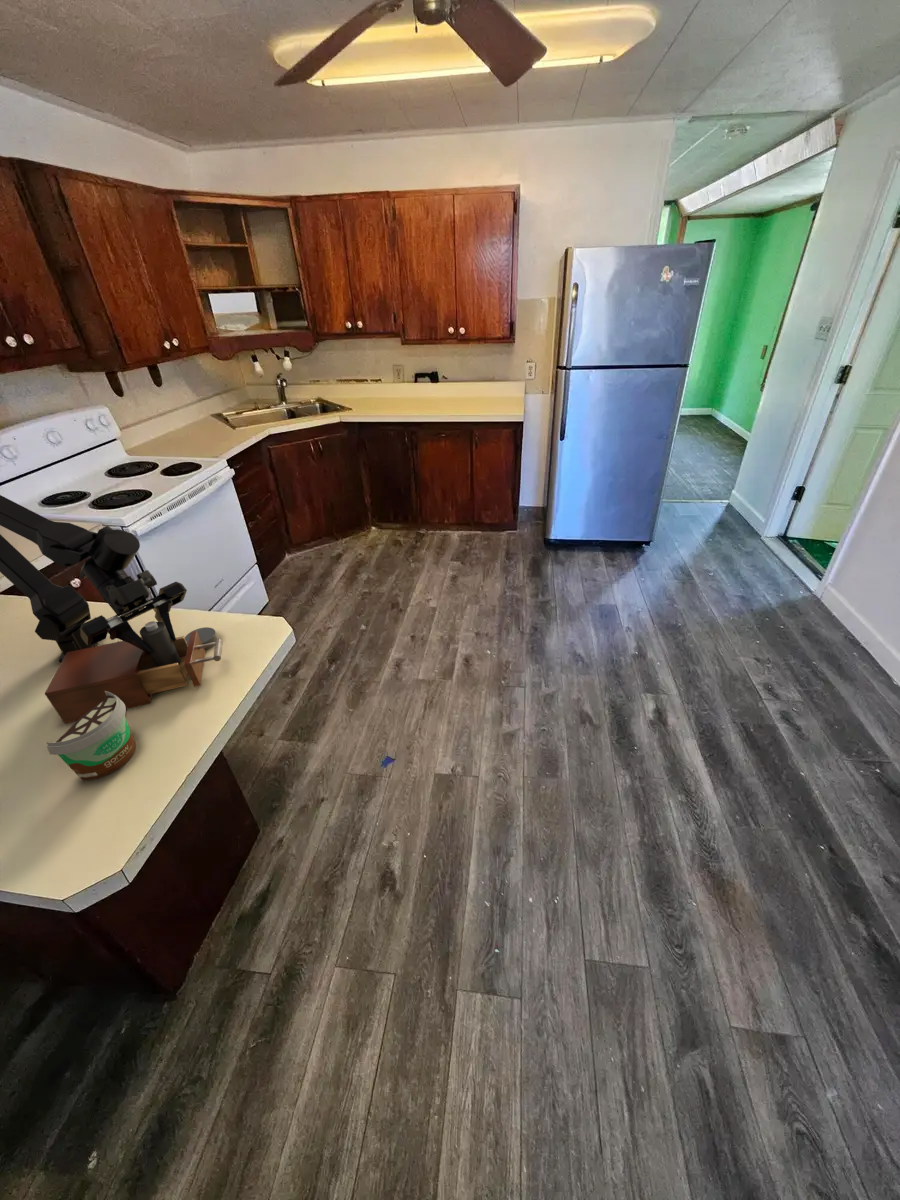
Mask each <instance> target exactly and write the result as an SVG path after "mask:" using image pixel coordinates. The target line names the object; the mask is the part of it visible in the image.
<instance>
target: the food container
mask: <svg viewBox="0 0 900 1200" xmlns="http://www.w3.org/2000/svg"><path fill="white" fill-rule="evenodd" d="M105 694H106V697H105V698H104V699H103V700H102V701H101V702H100V703H98V704H97V705H96V706H95V707H94V708H92V709H91V710H90V711H88V712H87V713H85V714H84V715H82V716H81V717H80V718H79V719H78V720H77V721H74V723H73V724H72V725H71V727H69V729H68V730H67V731H66V732H64V734H62V735H61V736H60V737H59V738H57V740H56V741H54V742H53V741H52V742H49V741H46V744H47V746H46V748H47V751H48V753H49V755H51V756H53V755H54V756H57V757H59V758H60V759H61V760H62V761H63V762H64V763H65V764H66V765H67V766H68V767H69V768H70V769H71V771H73V772H74V773H75V774H76V775H77V776H78V778H80V779H81V780H83V781H84V780H85V781H92V780H97V779H101V778H104V777H107V776H109V775H112V774H113V773H114V772H116V771H118V770H120V769H121V768H122V767H124V766H125V765H126V764H128V762H129V761H130V760H131V759H132V757H133V756H134V754H135V752H136V749H137V743H136V741H135V738H134V736H133V733H132V730H131V728H130V726H129V724H128V721H127V719H126V716H125V715H126V711H127V709H126V707H125V704H124V703H123V702H122V701H121V700H120V699H119V698H118V697H117V696H116V695H114V694H112V693H110V692H107V691H105Z"/></svg>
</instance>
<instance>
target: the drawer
mask: <svg viewBox="0 0 900 1200" xmlns="http://www.w3.org/2000/svg"><path fill="white" fill-rule="evenodd" d="M192 631H193V632H192ZM192 631H190V632H191V634H190V639H189V644H187V642H186V640H185V635H182V636H178V637H177V636H176V641H172V642H173V644H174V646H175V648H176V651H177V653H178V655H179V658H180V660H181V662H180V664H178V663H174V664H169V665H165V666H160V667H156V666H155V664H154V662H153V660H152V658H151V655H150V654H148V653H147V652H144V655H143V658H142V661H141V664H140V667H139V670H138V673H137V675H138V677H139V679H140V681H141V682H142V684H143V686H144V688H145V690H146V692H147V694H152V693H153V694H156V693H160V692H164V691H168V690H172V689H173V690H174V689H177V688H181V687H185V686H187V685H188V680H189V679H190V681H191V684H192V686H193V687H194V688H196V687H200V686H201V683H202V677H203V672H204V671H203V670H204V664H205V662H211V661H215V662H219V661H221V660H222V655H223V654H222V653H223V644H224V641H223V640H222V638H218V639H217V640H216V642H212V643H208V644H203V645H202V642H201V640H200V637H199V635H198V632H197V631H194V630H192ZM211 646H212V647H214V649H213V655H211V656H207V657H206V650H204V648H207V647H211ZM212 647H211V648H212Z"/></svg>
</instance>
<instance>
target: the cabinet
mask: <svg viewBox="0 0 900 1200" xmlns="http://www.w3.org/2000/svg"><path fill="white" fill-rule="evenodd" d="M139 637H140V638H141V639H142V637H141V636H139ZM142 640H143V639H142ZM144 652H145V651H143V650H141V649H139V648H137V647H136V646H134V645H132V644H130V643H127V642H125V641H122V640H120V641H116V642H110V643H106V644H101V645H97V646H95V647H91V648H86V649H81V650H76V651H71V652H67V654H66V655H65V657H64V659H63V661H62V662H60V665H59V666H58V668H57V670H56V671H55V674H54V675H53V677H52V679H51V680H50V683H49V684H48V686H47V689H46V690H45V691H44V695H45V696H46V698H47V700H48V701H49V702H50V704H51V706H52V707H53V708H54V710H55V712H56V713H57V714H58V716H59V717H60V719H61V720H62V722H63V723H64V724H68V723H73V722H76V721H77V720H78V719H79V718H80V717H81V716H82V715H84V714H85V713H87V712H88V711H90V710H91V709H92V708H94V707H95V706H96V705H97V704H98V703H100V702H101V701H102V700H103V699H104V698H105V697H106V694H105V691H107V692H110V693H112V694H114V695H116V696H117V697H118V698H119V699H120V700H121V701H122V702H123V703H124V704H125V707H126V710H128V709H132V708H135V707H139V706H144V705H148V704H151V702H152V698H153V695H154V693H152V694H147V692H146V690H145V688H144V686H143V684H142V682H141V681H140V679H139V677H138V675H137V673H138V670H139V667H140V664H141V661H142V658H143V655H144Z"/></svg>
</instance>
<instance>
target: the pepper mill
mask: <svg viewBox="0 0 900 1200" xmlns="http://www.w3.org/2000/svg"><path fill="white" fill-rule="evenodd" d="M139 634H140V635H139V636H140V637H142V639H143V641H144V642H145V643H146V644H147V645H148V646H149V648H150V649H151V651H152V654H150V655H151V658H152V660H153V662H154V664H155V666H156V667H160V666H165V665H169V664H174V663H178V664H180V662H181V660H180V658H179V655H178V653H177V651H176V648H175V646H174V644H173V642H172V639H171V637H170V635H169V633H168V630H167V628H166V626H165V624H164V623H162V622H158V621H154V620H152V621H148V622H146V623H145V624H144V626H143V627H141V628H140V630H139Z"/></svg>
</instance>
